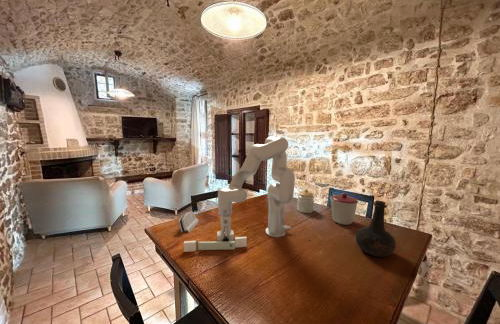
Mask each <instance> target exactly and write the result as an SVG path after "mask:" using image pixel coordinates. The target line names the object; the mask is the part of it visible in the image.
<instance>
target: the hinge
mask: <svg viewBox="0 0 500 324" xmlns="http://www.w3.org/2000/svg"><path fill="white" fill-rule="evenodd" d="M199 222H200V221H199V219H198V218H197V217H196V215H195V213H194V211H187V212H184V214H182V216H181V217H180V218H179V219H178V226H179V229H180V232H181V233H183V232H187V233H188V234H189V233H190V232H191V231H192V230H193V229H194V228H195V226H196V225H197V224H198V223H199Z"/></svg>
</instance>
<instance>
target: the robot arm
mask: <svg viewBox="0 0 500 324" xmlns="http://www.w3.org/2000/svg"><path fill="white" fill-rule="evenodd" d="M288 148H289V141H288V140H287V138H285V137H282V136H269V137H267V138H266V139H265V141H264V144H262V143H261V144H259V143H256V144H253V145H251V146H250V148H249V150H248V153H247V155H246V157H245V160H244V162H243V163H242V166H241V168H240V169H239V170H238V171H237V172H236V173H235V174H234V176H233V177H232V179H231V181H230V183H229V184H228V187H222V188H219V189H218V190H217V206H218V207H217V209H218V210H217V211H218V212H217V214H218V216H220V227H221V228H220V229H221V231H222V233H223V241H229V237H228V233H231V230H232V228H231V227H232V225H231V224H232V223H231V221H232V220H231V219H232V218H231V215H232V214H233V203H242V202H244V201H246V200H247V199H248V198H247V197H248V193H247V190H246V189H244V188H243V184H244V183H245V181H246V180H247V179H248V178H250V177H252V176H254V175H256V173H257V171H258V169H259V166H260V164H261V162H262V161H264V162H265V161H269V160H271V159H272V164H271V175H270V176H271V178H272V180H274V181H275V182H273V183H271V184H269V186H268V187H267V197H268V198H267V199H268V213H267V214H268V217H267V218H268V221H267V227H266V228H265V233H266V235H267V236H270V237H272V238H282V237H284V236H285V235H286V231H290V230H292V228H291V226H288V225H287V224H286V225H284V223H285V222H284V221H285V220H284V217H285V204H289V203H291V201H293V200H292V199H293V197H294V192H295V183H296V176H295V172H294V170H292V169H291V168H288V167H287V160H288V156H287V153H286V151H287V150H288ZM224 234H225V235H224Z"/></svg>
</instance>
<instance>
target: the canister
mask: <svg viewBox="0 0 500 324" xmlns="http://www.w3.org/2000/svg"><path fill="white" fill-rule="evenodd" d="M359 202H360V201H359V199H357V198H355V197H353V196H350V195H348V193H346V192H342V193H341V194H334V195H332V196H330V203H331V218H332V220H333V221H334V222H335V223H337V224H339V225H345V226H348V225H351V224H352V223H354V220H355V215H356V213H357V212H356V211H357V207H358V204H359Z"/></svg>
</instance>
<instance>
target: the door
mask: <svg viewBox="0 0 500 324" xmlns="http://www.w3.org/2000/svg"><path fill="white" fill-rule="evenodd" d="M211 250H212V251H213V250H215V251H217V250H219V251H221V250H222V251H223V250H236V248H235V240H234V241H198V240H196V251H211Z"/></svg>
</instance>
